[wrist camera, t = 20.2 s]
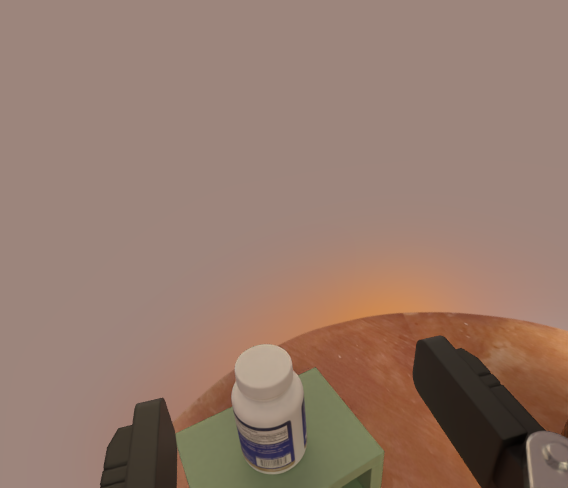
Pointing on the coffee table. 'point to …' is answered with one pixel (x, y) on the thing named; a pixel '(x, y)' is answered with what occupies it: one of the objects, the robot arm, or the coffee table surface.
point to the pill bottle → (269, 409)
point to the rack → (315, 462)
